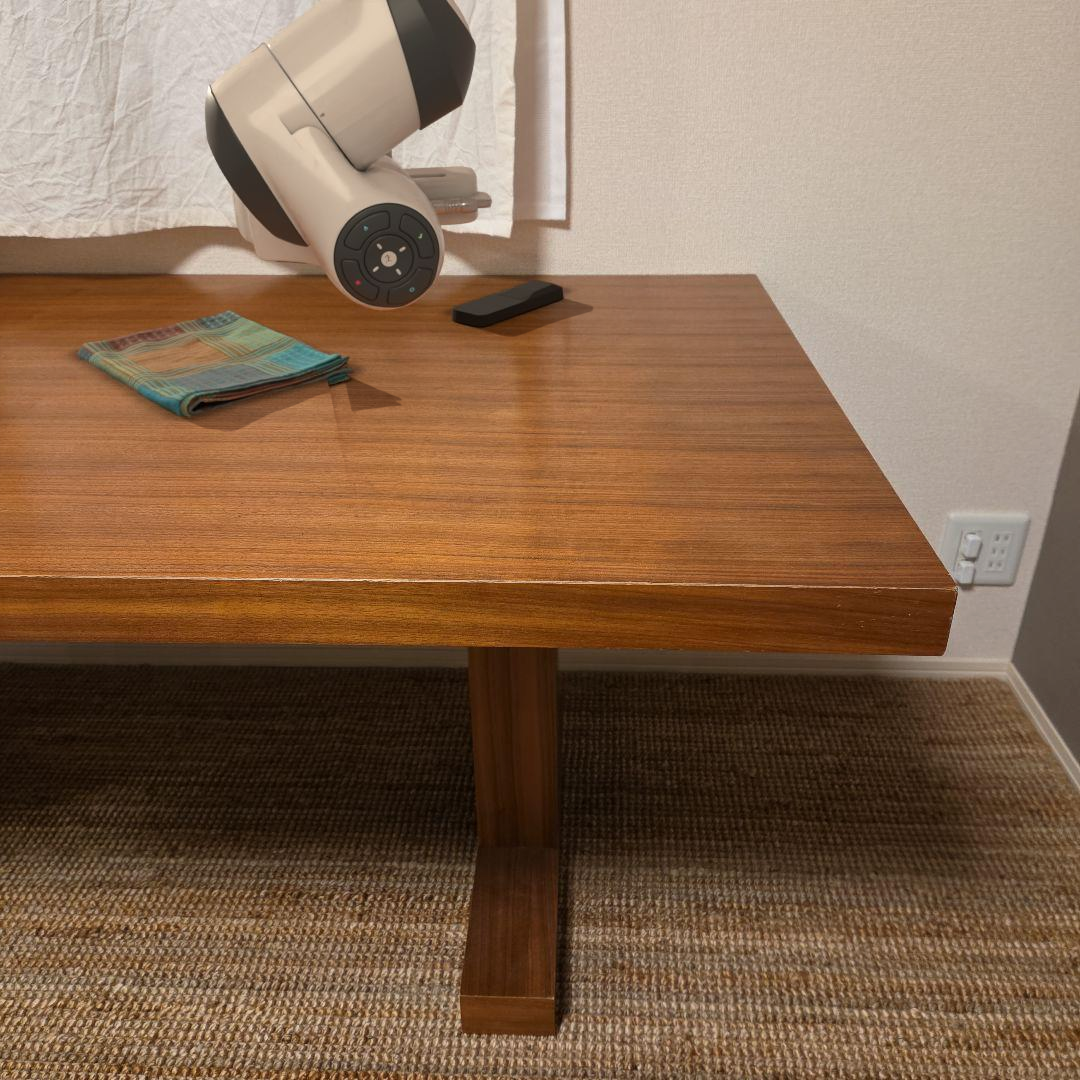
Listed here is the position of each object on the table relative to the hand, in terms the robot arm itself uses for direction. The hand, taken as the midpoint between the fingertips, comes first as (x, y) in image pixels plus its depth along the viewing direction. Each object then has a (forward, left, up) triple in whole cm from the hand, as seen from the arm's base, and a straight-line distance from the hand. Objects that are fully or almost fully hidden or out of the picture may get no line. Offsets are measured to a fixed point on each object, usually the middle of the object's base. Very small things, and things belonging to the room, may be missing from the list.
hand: (350, 183), depth 90 cm
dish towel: (-15, +2, -17) cm, 22 cm away
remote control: (+17, +15, -17) cm, 29 cm away
